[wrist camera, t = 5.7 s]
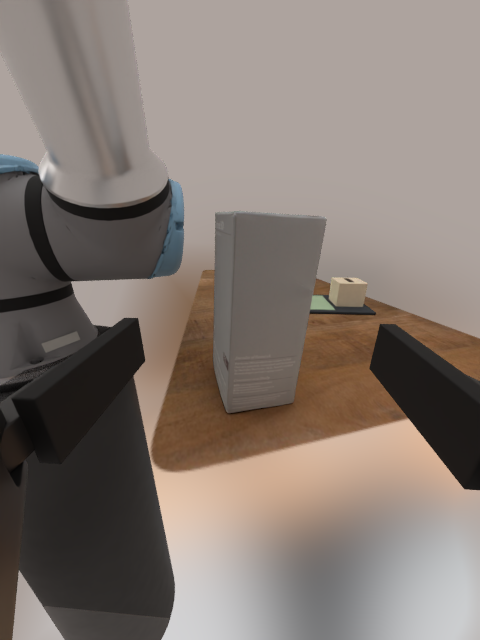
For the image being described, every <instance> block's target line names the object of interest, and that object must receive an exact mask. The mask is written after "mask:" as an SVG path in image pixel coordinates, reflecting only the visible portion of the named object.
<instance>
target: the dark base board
mask: <svg viewBox="0 0 480 640" xmlns="http://www.w3.org/2000/svg"><path fill="white" fill-rule="evenodd" d="M366 290H367V283H365V282H363V281H362V280H360V279H358V278H332V280H331V286H330V293H329V295H313V296H312V302H311V307H310V313H318V314H366V315H375V314H376V312H374V311H373V310H371V309H370V308H369V307H367V306H366V305H365V304H364V299H365V294H366Z"/></svg>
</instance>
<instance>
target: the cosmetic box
mask: <svg viewBox="0 0 480 640" xmlns="http://www.w3.org/2000/svg"><path fill="white" fill-rule="evenodd" d="M215 221H216V223H215V286H214V343H213V364H214V370H215V375H216V379H217V383H218V387H219V391H220V394H221V398H222V401H223V404H224V407H225V410H226V411H227V412H228V413H233V412H240V411H245V410H251V409H258V408H265V407H271V406H278V405H284V404H289V403H293V402H294V397H295V390H296V385H297V380H298V374H299V369H300V363H301V357H302V352H303V346H304V341H305V335H306V330H307V324H308V318H309V313H310V307H311V302H312V296H313V291H314V286H315V280H316V275H317V269H318V264H319V259H320V254H321V248H322V243H323V237H324V232H325V226H326V218H325V217H320V216H304V215H289V214H274V213H273V214H272V213H260V212H243V211H234V212H217V213H215Z"/></svg>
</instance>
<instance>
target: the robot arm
mask: <svg viewBox="0 0 480 640" xmlns="http://www.w3.org/2000/svg"><path fill="white" fill-rule="evenodd" d="M0 53H1V55H2V57H3V59H4V62H5V64H6V66H7V68H8V70H9V72H10V74H11V76H12V78H13V81H14V83H15V85H16V87H17V89H18V91H19V93H20V95H21V97H22V99H23V101H24V103H25V105H26V108H27V110H28V112H29V114H30V116H31V118H32V120H33V122H34V124H35V127H36V129H37V131H38V133H39V135H40V137H41V139H42V141H43V143H44V145H45V147H46V150H47V152H46V153H45V155H44V157H43V159H42V160H41V163H40V165H39V167H38V166H37V165H36V164H35V163H33V162H31V161H29V160H26V159H23V158H19V157H14V156H9V155H3V154H0V393H3V392H10V391H15V390H18V391H16V392H15V393H13V394H12V395H10V396H9V397H8V398H6V399H5V400H3V401H2V402H0V640H12V636H13V625H14V613H15V604H16V593H17V582H18V572H19V561H20V550H21V539H22V529H23V518H24V507H25V497H26V486H27V475H28V465H27V462H26V460H25V459H26V458H27V457H28V456H29V455H30V454H31V453H32V452H33V451H34V450H35V453H36V455H37V457H38V459H39V461H40V463H55V464H61V463H62V462H63V461H64V460H65V459H66V457H67V456H68V455H69V454H70V452H71V451H72V450H73V449H74V448H75V446H76V445H77V444H78V443H79V441H80V440H81V439H82V438H83V437H84V435H85V434H86V433H87V432H88V430H89V429H90V428H91V427H92V425H93V424H94V423H95V422H96V421H97V419H98V418H99V417H100V416H101V414H102V413H103V412H104V411H105V410H106V408H107V407H108V406H109V405H110V403H111V402H112V401H113V400H114V399H115V397H116V396H117V395H118V394H119V392H120V391H121V390H122V389H123V387H124V386H125V385H126V384H127V383H128V381H129V380H130V379H131V378H132V376H133V375H134V374H135V373H136V371H137V370H138V369H139V368H140V366H141V365H142V364H143V363H144V362H145V356H144V350H143V344H142V339H141V333H140V328H139V321H138V318H124V319H122V320H121V321H120V322H118V323H117V324H116V325H114V326H113V327H111V328H110V329H108V330H107V331H105V332H104V333H103V334H101V335H100V333H99V331H98V330H97V328H96V327H95V326H94V325H93V324H92V323H91V321H90V320H89V318H88V317H87V315H86V313H85V312H84V310H83V309H82V307H81V306H80V304H79V303H78V301H77V299H76V297H75V295H74V292H73V288H72V284H71V281H89V280H90V281H92V280H119V279H151V278H153V277H161V276H169V275H172V274H174V273H176V272H177V271H178V269H179V267H180V265H181V261H182V254H183V243H184V229H183V225H184V202H183V193H182V188H181V186H180V184H179V183H178V182H175V181H173V180H171V179H168V171H167V167H166V165H165V163H164V162H163V160H162V159H161V158H160V157H159V156H158V155H156V154H155V153H154V152H153V151H152V150H151V149H150V148H149V142H148V135H147V128H146V122H145V115H144V108H143V101H142V94H141V88H140V81H139V74H138V67H137V60H136V54H135V47H134V40H133V34H132V27H131V20H130V13H129V6H128V0H0ZM369 369H370V370H371V371H372V372H373V374H374V375H375V376H376V378H377V379H378V380H379V381H380V383H381V384H382V385H383V386H384V388H385V389H386V390H387V392H388V393H389V394H390V395H391V397H392V398H393V399H394V400H395V402H396V403H397V404H398V405H399V407H400V408H401V409H402V411H403V412H404V413H405V414H406V416H407V417H408V418H409V419H410V421H411V422H412V423H413V424H414V426H415V427H416V428H417V430H418V431H419V432H420V433H421V435H422V436H423V437H424V438H425V439H426V441H427V442H428V444H429V445H430V446H431V447H432V448H433V450H434V451H435V452H436V453H437V455H438V456H439V458H440V459H441V460H442V461H443V463H444V464H445V465H446V466H447V468H448V469H449V470H450V472H451V473H452V474H453V475H454V476H455V478H456V479H457V480H458V482H459V483H460V484H461V485H462V487H463V488H464V489H470V490H480V381H478V380H476V379H474V378H472V377H470V376H467V375H465V374H464V373H462V372H461V371H460V370H458V369H457V368H455V367H454V366H453V365H451V364H450V363H448V362H447V361H446V360H444V359H443V358H441V357H440V356H439V355H437V354H436V353H434V352H433V351H432V350H430V349H429V348H427V347H426V346H425V345H423V344H422V343H420V342H419V341H418V340H416V339H415V338H413V337H412V336H411V335H409V334H408V333H407V332H405V331H404V330H402V329H401V328H400V327H398V326H397V325H395V324H380V327H379V331H378V335H377V339H376V343H375V348H374V352H373V356H372V360H371V364H370V368H369Z"/></svg>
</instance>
